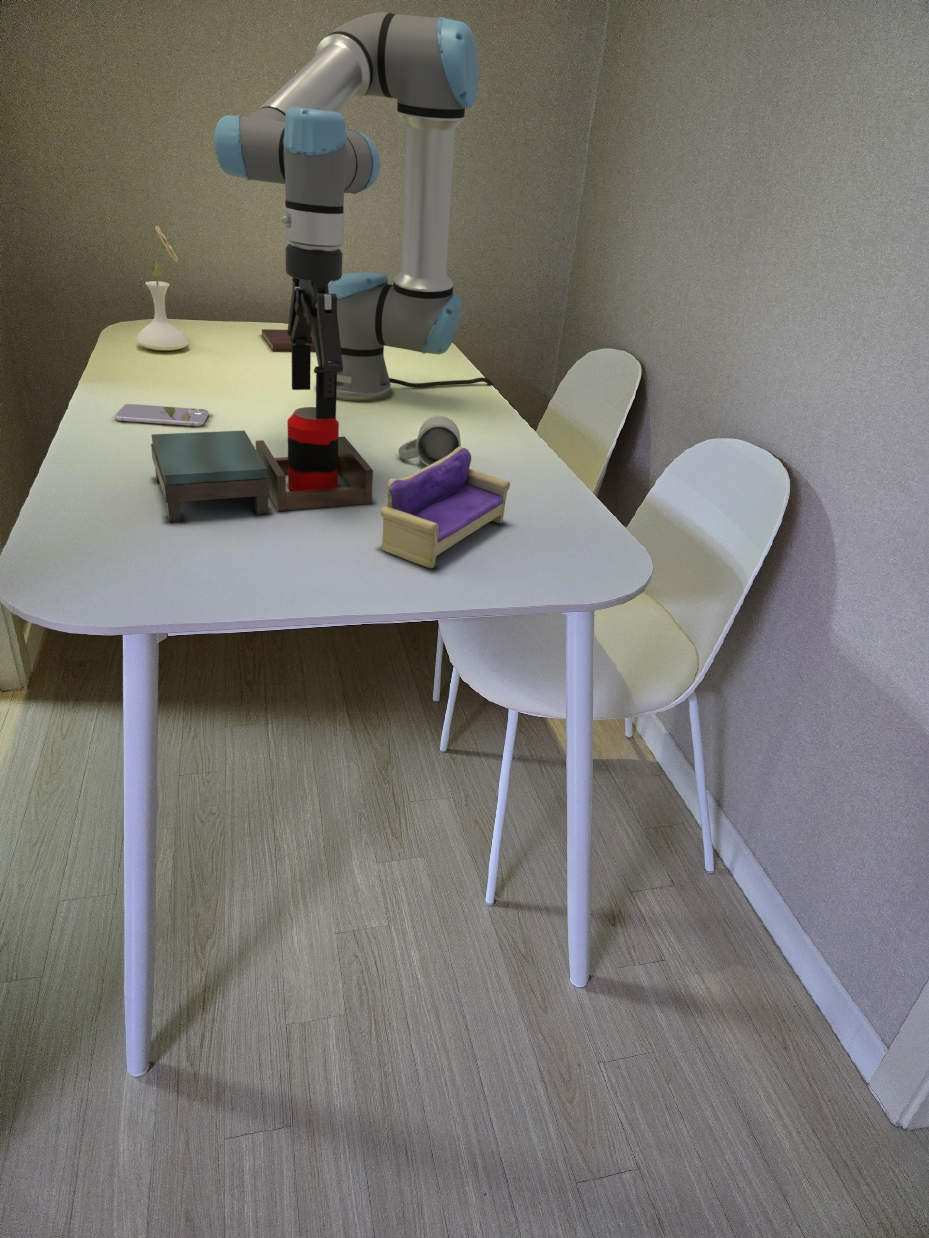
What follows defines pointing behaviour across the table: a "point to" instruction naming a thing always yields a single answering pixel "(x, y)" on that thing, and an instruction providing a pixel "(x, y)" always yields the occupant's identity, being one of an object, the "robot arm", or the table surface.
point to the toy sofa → (439, 507)
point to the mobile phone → (162, 415)
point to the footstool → (208, 469)
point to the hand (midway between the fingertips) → (312, 403)
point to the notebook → (280, 340)
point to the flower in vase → (161, 313)
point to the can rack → (348, 466)
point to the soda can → (312, 451)
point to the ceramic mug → (433, 441)
